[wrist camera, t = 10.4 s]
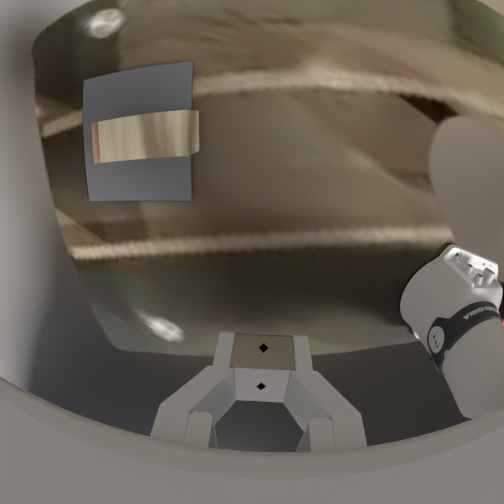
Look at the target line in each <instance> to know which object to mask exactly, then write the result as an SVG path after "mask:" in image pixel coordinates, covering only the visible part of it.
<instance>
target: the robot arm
mask: <svg viewBox="0 0 504 504" xmlns="http://www.w3.org/2000/svg"><path fill="white" fill-rule="evenodd" d="M456 253H457V254H456ZM497 275H498V265H497V264H496V262H494V261H492V260H490V259H487V258H485V257H483V256H481V255H478V254H476V253H474V252H471V251H469V250H467V249H464V248H462V247H459V246H457V245H454V244H451V245H449V246H448V247H447V248H446V249H445V250H444V251H443V252H442V253H441V254H440V256H439V257H437V258H436V259H435V260H433V261H431V262H429V263H428V264H426V265H425V266H424V267H422V268H421V269H420V270H419V271H418V272H417V273H416V274H415V275H414V276H413V277H412V279H411V280H410V281H409V283H408V284H407V286H406V288H405V290H404V292H403V295H402V298H401V303H400V312H401V315H402V318H403V319H404V321H405V322H406V323H407V324H409V326H410V327H411V328H412V331H413V334H414V335H415V337H416V338H420V340H421V341H422V343H423V344H424V346H425V347H426V348H427V350H428V351H429V353H430V354H431V357H432V359H433V361H434V363H435V365H436V368H437V370H438V371H439V372H440V374H441V375H442V376H444V377H445V378H446V380H447V383H448V385H449V387H450V389H451V391H452V393H453V396H454V398H455V400H456V402H457V405H458V407H459V409H460V411H461V413H462V414H463V415H464V416H466V417H468V418H475V419H473V420H470V421H467V422H464V423H462V424H459V425H456V426H453V427H450V428H447V429H443V430H440V431H437V432H433V433H430V434H426V435H423V436H418V437H414V438H410V439H406V440H401V441H396V442H392V443H386V444H381V445H374V446H368V447H367V443H366V439H365V433H364V428H363V423H362V419H361V414H360V413H359V412H358V411H357V410H356V409H355V408H354V407H353V406H352V405H351V404H350V403H349V402H348V401H347V400H346V399H345V398H344V397H343V396H342V395H341V394H340V393H339V392H337V390H335V388H334V387H332V386H331V385H330V384H329V383H328V382H327V381H326V380H325V379H324V378H323V377H322V376H321V375H320V374H319V373H318V372H317V371H313V369H312V361H311V354H310V347H309V340H308V337H307V336H284V335H259V334H247V333H232V332H223V331H221V332H220V334H219V338H218V342H217V347H216V352H215V357H214V361H213V366H207V367H206V368H205V369H204V370H202V371H201V372H200V373H199V374H198V375H196V376H195V377H194V378H193V379H191V380H190V381H189V382H188V383H187V384H185V385H184V386H183V387H182V388H181V389H179V390H178V391H177V392H175V393H174V394H173V395H171V396H170V397H169V398H168V399H166V400H165V401H164V402H163V403H161V404H160V407H159V410H158V413H157V416H156V419H155V423H154V426H153V429H152V432H151V435H150V437H148V436H144V435H140V434H136V433H132V432H129V431H125V430H121V429H118V428H115V427H111V426H108V425H105V424H102V423H99V422H97V421H93V420H91V419H88V418H85V417H82V416H80V415H77V414H75V413H72V412H70V411H67V410H65V409H63V408H60V407H58V406H56V405H54V404H51V403H49V402H47V401H44V400H43V399H40V398H38V397H36V396H34V395H32V394H31V393H29V392H27V391H25V390H23V389H21V388H19V387H17V386H15V385H14V384H12V383H10V382H8V381H7V380H5V379H3V378H2V377H0V504H504V326H503V325H504V318H503V320H502V319H501V317H500V314H499V311H498V309H499V306H500V303H501V299H502V287H501V285H500V284H499V282H498V281H497ZM235 400H246V401H267V402H284V404H285V406H286V407H287V409H288V410H289V411H290V413H291V414H292V416H293V417H294V419H295V420H296V422H297V423H298V424H299V426H300V427H301V428H302V430H303V431H304V435H303V437H302V439H301V441H300V443H299V446H298V448H297V450H296V453H273V452H270V453H269V452H247V451H234V450H224V449H218V446H217V441H216V435H215V429H214V425H215V424H216V422H217V421H218V420H219V419H220V418H221V417H222V416H223V415H224V413H225V412H226V411H227V410H228V409H229V408H230V407H231V405H232V404H233V403H234V402H235Z"/></svg>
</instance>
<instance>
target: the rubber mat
mask: <svg viewBox="0 0 504 504" xmlns="http://www.w3.org/2000/svg"><path fill="white" fill-rule="evenodd" d="M192 75H193V62H192V61H190V62H180V63H170V64H162V65H155V66H148V67H142V68H136V69H131V70H126V71H121V72H116V73H112V74H107V75H103V76H99V77H95V78H91V79H87V80H84V84H83V133H84V152H85V165H86V176H87V185H88V193H89V201H192V177H191V155H189V156H178V157H160V158H146V159H134V160H124V161H114V162H105V163H97V164H94V156H93V143H92V125H91V123H95V122H100V121H105V120H110V119H116V118H122V117H128V116H134V115H141V114H149V113H157V112H166V111H177V110H191V106H192Z"/></svg>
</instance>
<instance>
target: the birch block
mask: <svg viewBox="0 0 504 504" xmlns="http://www.w3.org/2000/svg"><path fill="white" fill-rule="evenodd" d="M91 125H92V143H93V156H94V164H97V163H105V162H114V161H124V160H134V159H146V158H160V157H178V156H189V155H192V154H194V153H196V152H198V151H199V111H196V110H177V111H166V112H157V113H149V114H141V115H134V116H128V117H122V118H116V119H110V120H105V121H100V122H95V123H91Z"/></svg>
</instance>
